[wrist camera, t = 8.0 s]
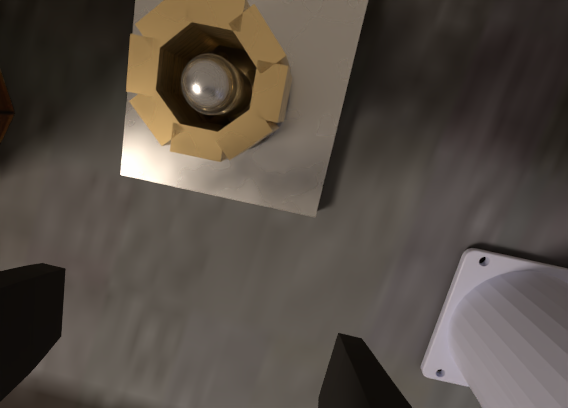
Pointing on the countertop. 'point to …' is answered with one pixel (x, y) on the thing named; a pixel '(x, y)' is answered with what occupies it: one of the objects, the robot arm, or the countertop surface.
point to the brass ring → (187, 45)
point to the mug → (4, 108)
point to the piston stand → (236, 101)
